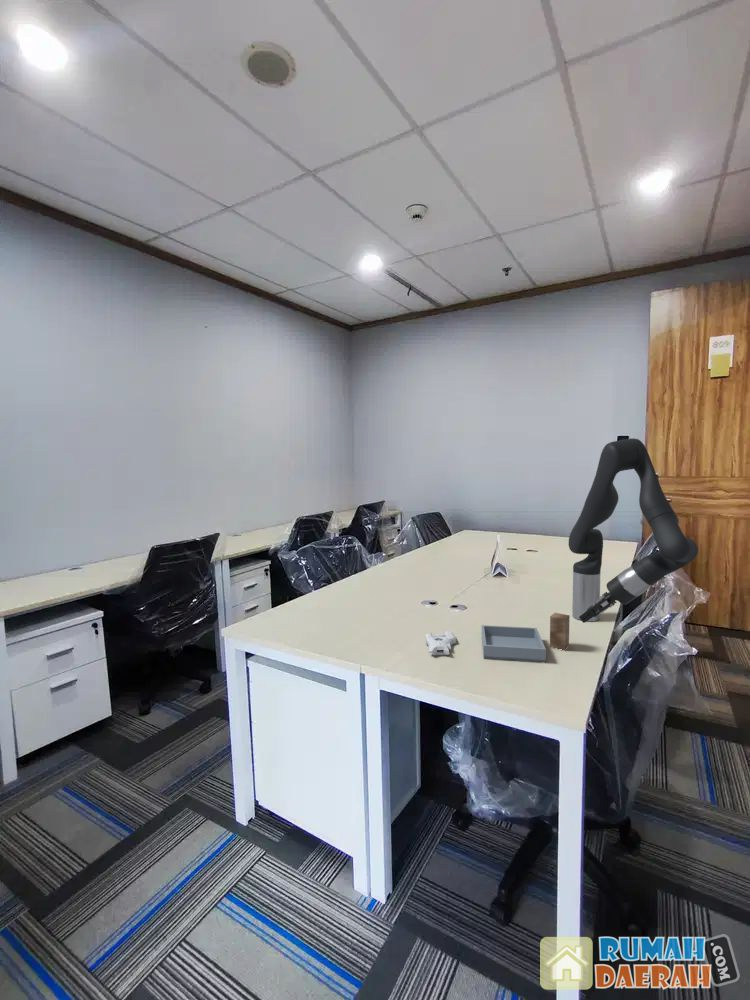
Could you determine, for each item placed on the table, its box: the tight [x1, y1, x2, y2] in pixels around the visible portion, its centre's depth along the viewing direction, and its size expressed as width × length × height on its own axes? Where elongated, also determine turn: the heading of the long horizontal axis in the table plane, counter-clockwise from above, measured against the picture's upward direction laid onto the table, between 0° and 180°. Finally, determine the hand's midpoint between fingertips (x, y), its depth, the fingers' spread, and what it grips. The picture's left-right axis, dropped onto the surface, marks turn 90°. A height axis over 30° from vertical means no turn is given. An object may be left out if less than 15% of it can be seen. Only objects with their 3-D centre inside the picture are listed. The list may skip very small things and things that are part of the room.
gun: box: [424, 630, 457, 656], centre depth 147 cm, size 18×4×10 cm
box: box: [481, 624, 547, 663], centre depth 143 cm, size 18×18×4 cm
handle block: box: [549, 612, 571, 651], centre depth 144 cm, size 4×4×10 cm
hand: (585, 616), depth 139 cm, fingers open, 8 cm apart
